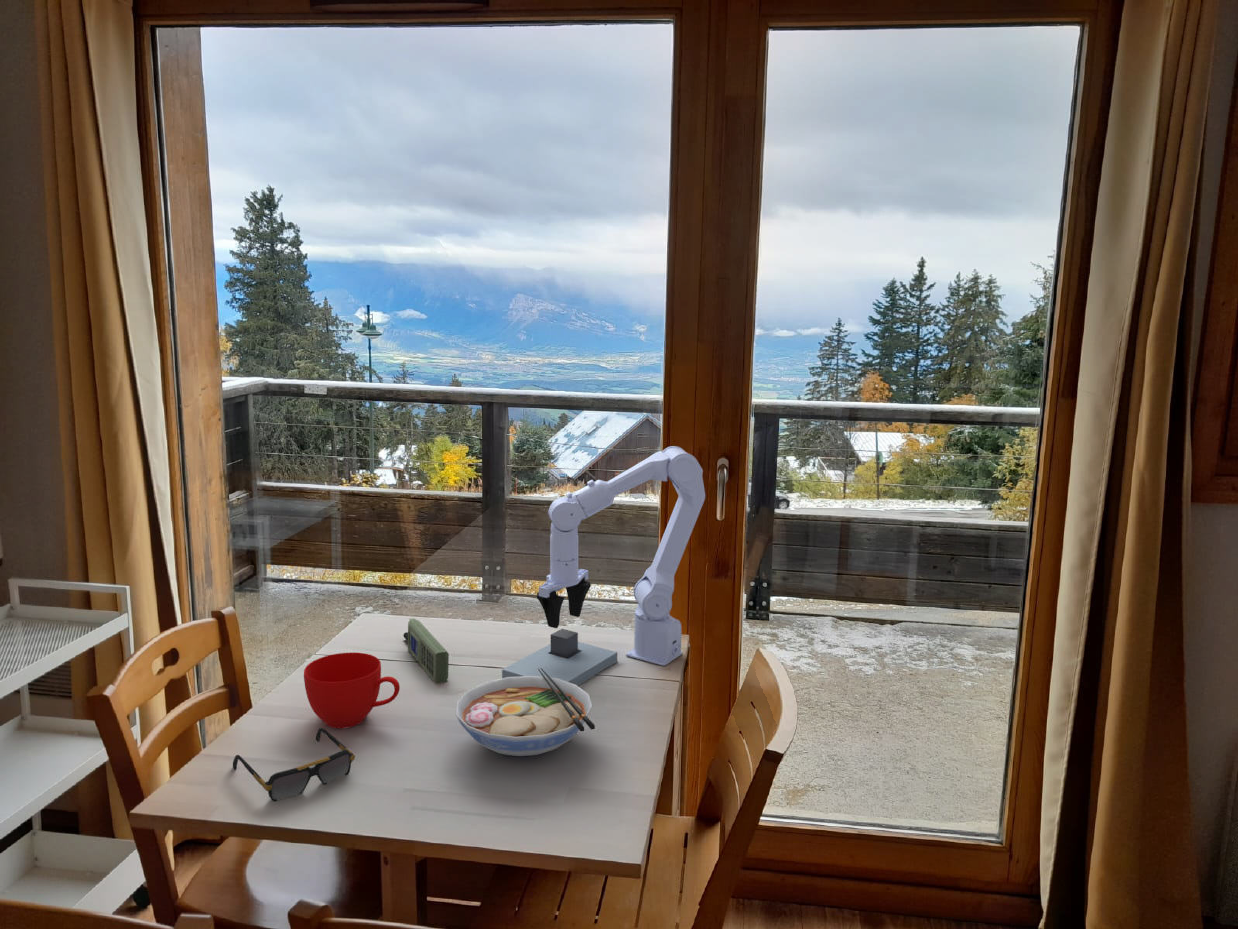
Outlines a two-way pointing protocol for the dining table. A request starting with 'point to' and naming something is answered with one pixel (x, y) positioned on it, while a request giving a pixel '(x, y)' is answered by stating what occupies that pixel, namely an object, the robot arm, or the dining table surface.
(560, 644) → the block
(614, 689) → the dining table surface
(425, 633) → the handheld radio
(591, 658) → the socket plate
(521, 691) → the ramen bowl
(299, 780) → the sunglasses
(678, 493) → the robot arm
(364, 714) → the ceramic cup
